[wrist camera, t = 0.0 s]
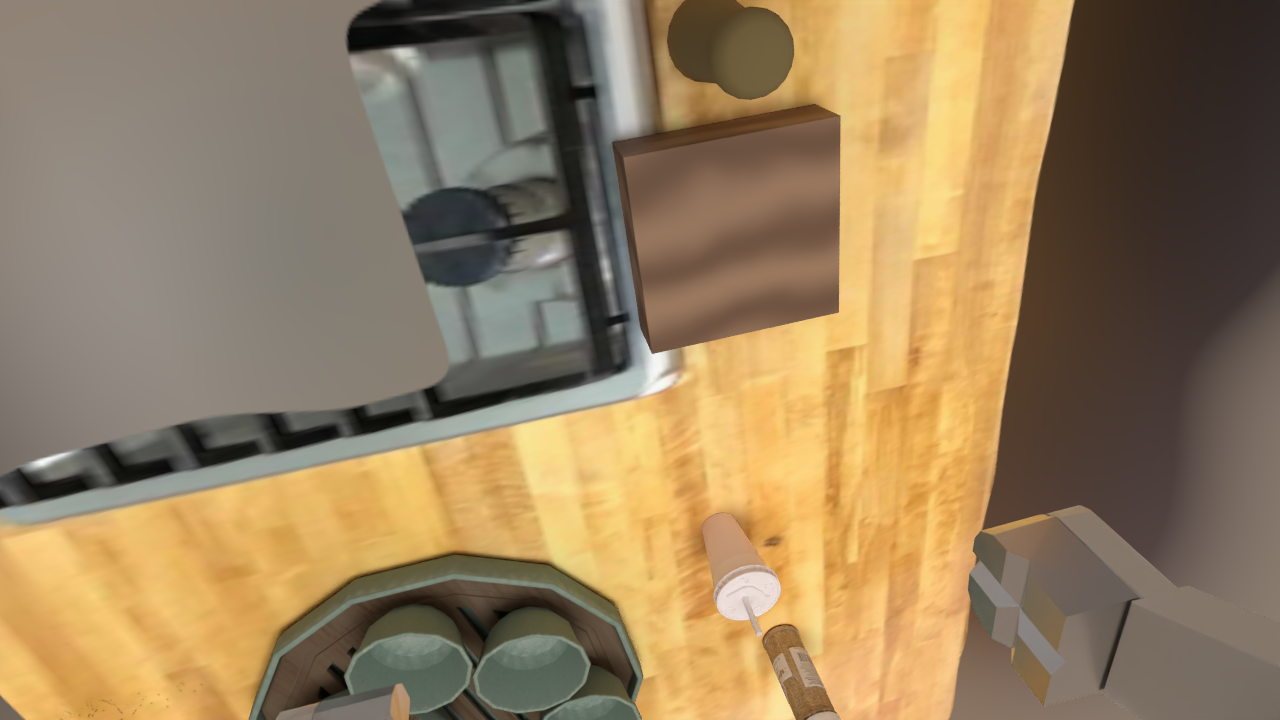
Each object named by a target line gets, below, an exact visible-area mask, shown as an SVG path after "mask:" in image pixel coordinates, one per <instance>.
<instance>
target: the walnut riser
mask: <svg viewBox="0 0 1280 720" xmlns="http://www.w3.org/2000/svg"><path fill="white" fill-rule="evenodd" d="M612 144H613V150H614V157H615V163H616V170H617V177H618V183H619V190H620V196H621V203H622V209H623V216H624V222H625V229H626V235H627V242H628V248H629V255H630V262H631V268H632V275H633V281H634V288H635V294H636V301H637V307H638V314H639V320H640V327H641V330H642V332H643V335H644V337H645V339H646V341H647V344H648V346H649V348H650V350H651V353H652V354H654V353H658V352H663V351H667V350H672V349H676V348H681V347H685V346H690V345H694V344H699V343H703V342H708V341H712V340H717V339H721V338H726V337H730V336H735V335H739V334H744V333H748V332H753V331H757V330H762V329H766V328H771V327H775V326H780V325H784V324H789V323H793V322H798V321H802V320H807V319H811V318H816V317H820V316H825V315H829V314H834V313H838V312H839V226H840V115H837V114H835V113H833V112H831V111H829V110H826V109H824V108H822V107H820V106H818V105H815V104H812V105H807V106H802V107H797V108H791V109H786V110H781V111H775V112H770V113H765V114H760V115H754V116H749V117H744V118H738V119H733V120H728V121H723V122H717V123H712V124H707V125H701V126H696V127H691V128H686V129H680V130H675V131H670V132H664V133H659V134H654V135H649V136H643V137H638V138H633V139H628V140H622V141H617V142H612Z"/></svg>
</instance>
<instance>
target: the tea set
mask: <svg viewBox="0 0 1280 720" xmlns="http://www.w3.org/2000/svg"><path fill="white" fill-rule="evenodd" d="M642 679H643V673H642V669H641V665H640V662H639V660H638V657H637V655H636V653H635V650H634V648H633V645H632V643H631V641H630V638H629V636H628V634H627V631H626V629H625V626H624V624H623V622H622V619H621V617H620V615H619V612H618V610H617V609H616V608H615V606H614V605H613V604H612V603H610V602H609V601H607V600H605V599H604V598H602V597H600V596H599V595H597V594H595V593H594V592H592V591H590V590H589V589H587V588H585V587H584V586H582V585H581V584H579V583H577V582H576V581H574V580H572V579H571V578H569V577H567V576H566V575H564V574H562V573H561V572H559V571H557V570H556V569H554V568H552V567H551V566H549V565H544V564H536V563H527V562H518V561H509V560H500V559H491V558H482V557H473V556H464V555H456V554H454V555H450V556H446V557H442V558H438V559H434V560H430V561H426V562H422V563H418V564H414V565H409V566H405V567H401V568H397V569H393V570H389V571H385V572H381V573H377V574H373V575H369V576H365V577H361V578H357V579H355V580H354V581H353V582H351V583H350V584H348V585H347V586H346V587H344V588H343V589H342V590H340V591H339V592H338V593H336V594H335V595H333V596H332V597H331V598H329V599H328V600H327V601H325V602H324V603H323V604H321V605H320V606H318V607H317V608H316V609H314V610H313V611H312V612H310V613H309V614H308V615H306V616H305V617H303V618H302V619H301V620H299V621H298V622H297V623H295V624H294V625H293V626H291V627H290V628H288V629H287V630H286V631H285V632H284V633H283V634H282V635H281V636H280V637H279V638H278V640H277V642H276V645H275V648H274V650H273V653H272V656H271V658H270V661H269V663H268V666H267V669H266V671H265V674H264V677H263V679H262V682H261V685H260V687H259V690H258V692H257V695H256V698H255V700H254V703H253V706H252V710H251V713H250V717H249V720H276V718H277V716H278V715H279V713H280V712H282V711H287V710H291V709H295V708H299V707H303V706H307V705H311V704H315V703H319V702H323V701H327V700H331V699H335V698H340V697H344V696H348V695H353V694H357V693H361V692H366V691H370V690H374V689H378V688H383V687H387V686H391V685H396V684H401V683H402V685H403V686H404V688H405V690H406V692H407V694H408V695H409V697H410V707H409V714H410V715H412V716H414V717H417V718H419V719H420V720H642V718H641V715H640V713H639V711H638V709H637V707H636V704H635V701H636V698H637V695H638V692H639V689H640V686H641V682H642Z"/></svg>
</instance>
